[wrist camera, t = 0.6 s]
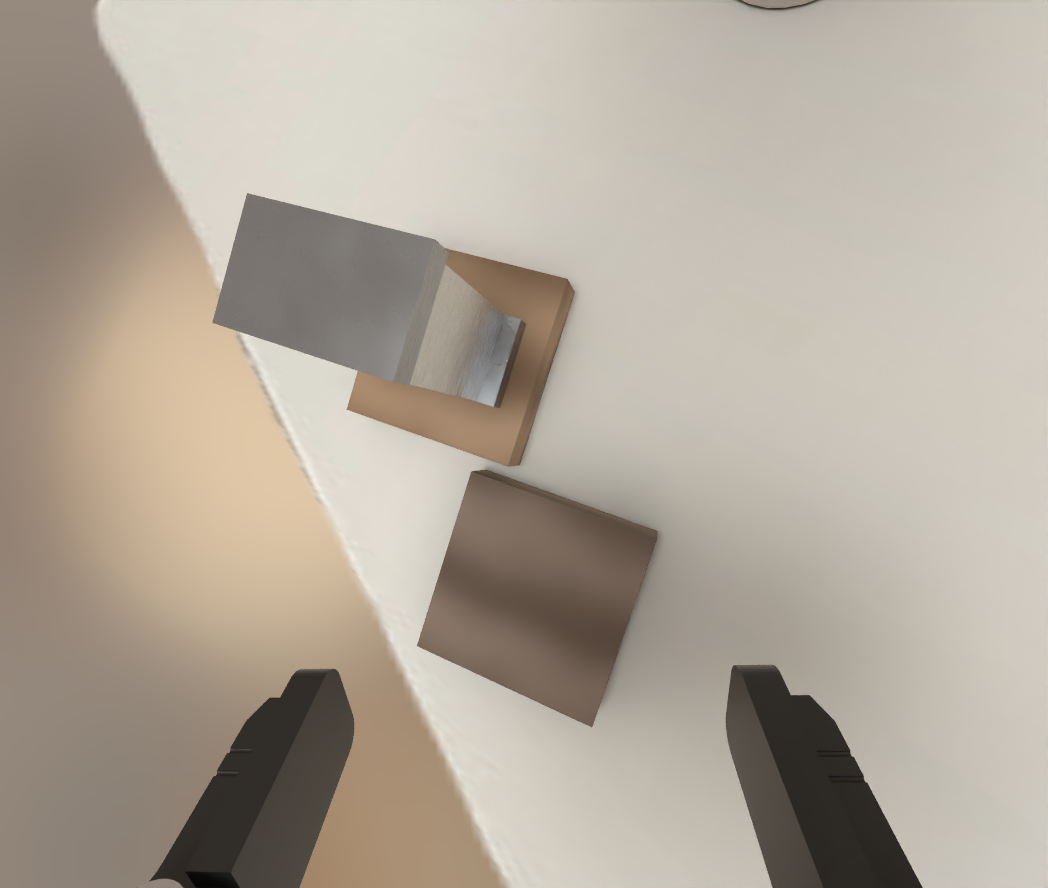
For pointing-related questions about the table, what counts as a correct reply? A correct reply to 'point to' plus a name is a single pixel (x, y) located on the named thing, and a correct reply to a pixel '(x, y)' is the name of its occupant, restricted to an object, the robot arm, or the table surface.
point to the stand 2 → (536, 592)
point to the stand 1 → (509, 426)
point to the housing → (365, 301)
